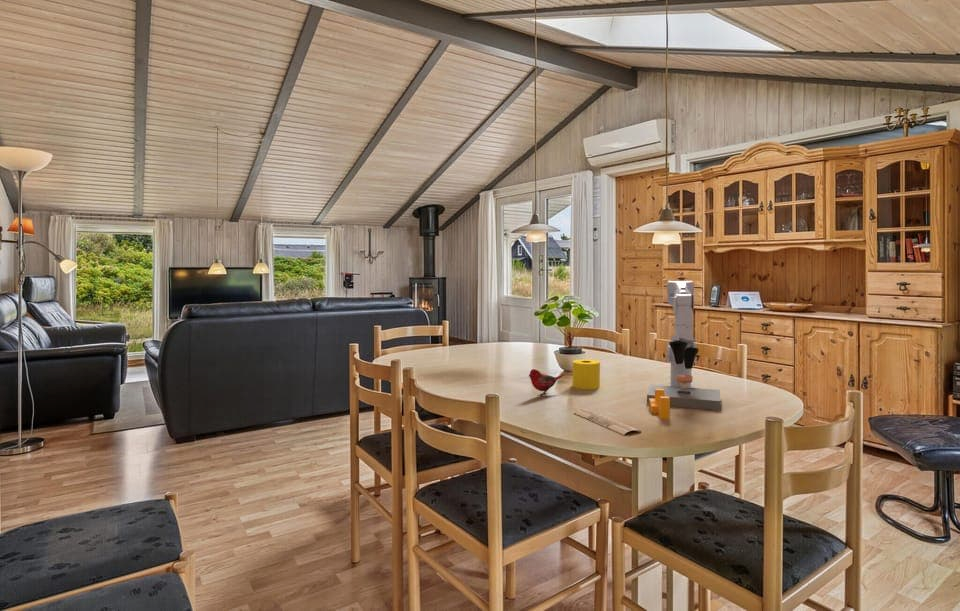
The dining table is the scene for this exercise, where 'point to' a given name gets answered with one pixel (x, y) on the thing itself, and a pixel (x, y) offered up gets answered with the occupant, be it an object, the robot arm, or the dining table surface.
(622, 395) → the dining table surface
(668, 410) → the pipe clamp
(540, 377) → the decorative bird figurine
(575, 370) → the yellow toilet paper roll
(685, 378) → the knob
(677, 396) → the plate
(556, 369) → the dining table surface
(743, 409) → the dining table surface
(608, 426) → the newspaper
